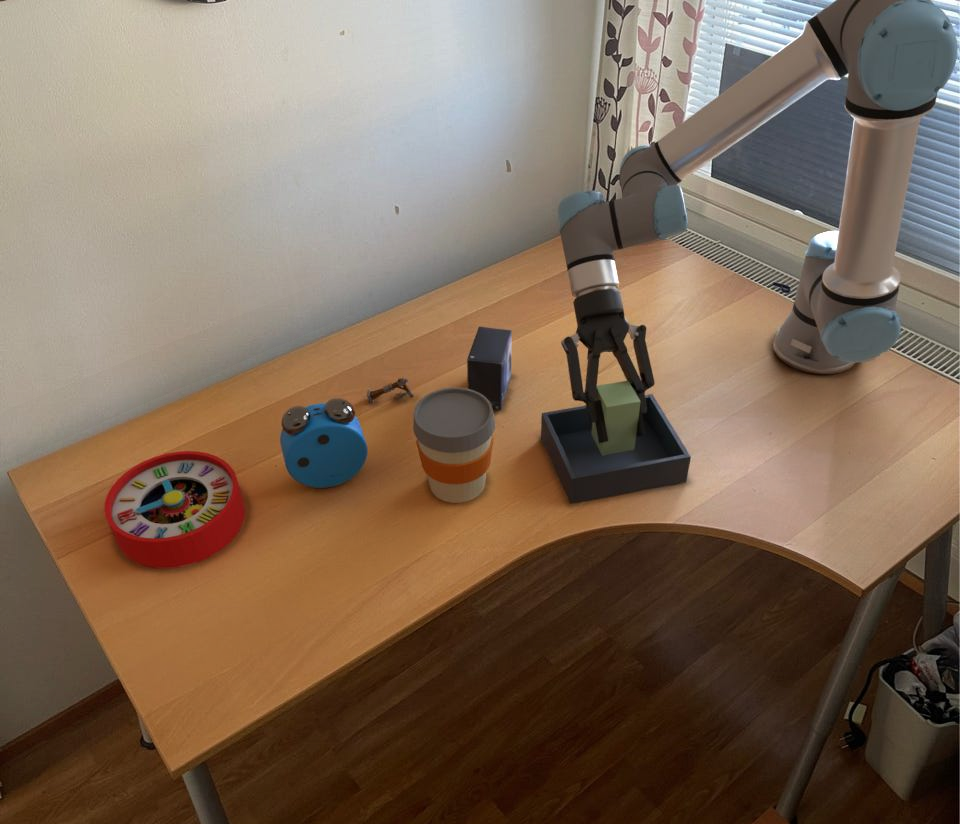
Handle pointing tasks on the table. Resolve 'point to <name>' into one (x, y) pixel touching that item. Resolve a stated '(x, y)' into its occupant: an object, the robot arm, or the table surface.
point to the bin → (612, 455)
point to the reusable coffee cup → (455, 441)
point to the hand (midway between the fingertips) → (622, 438)
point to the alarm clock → (323, 443)
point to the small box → (490, 364)
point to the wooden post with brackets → (388, 388)
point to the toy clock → (175, 509)
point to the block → (618, 417)
